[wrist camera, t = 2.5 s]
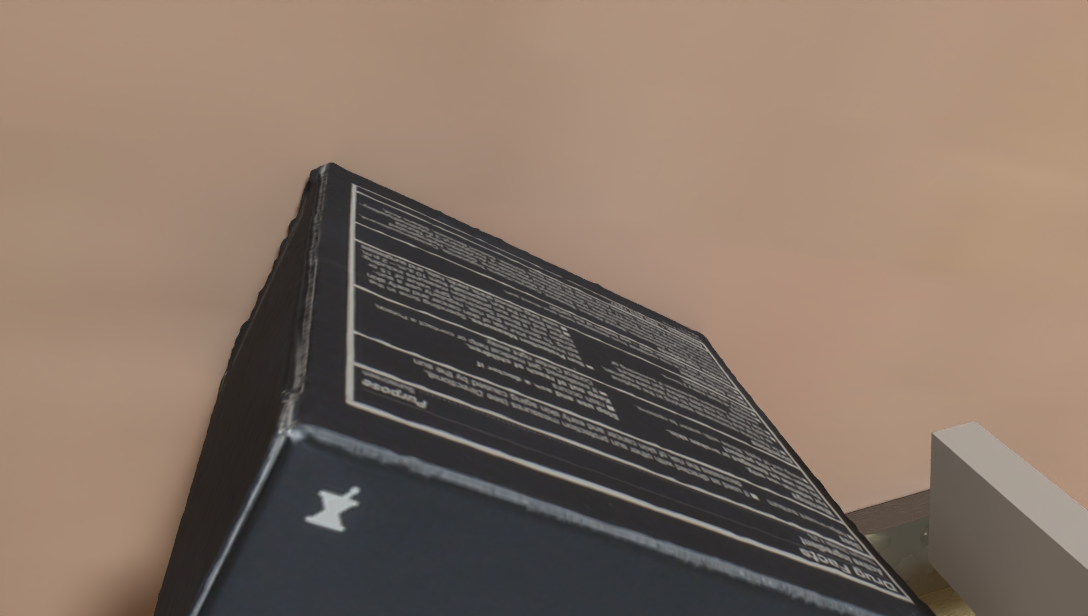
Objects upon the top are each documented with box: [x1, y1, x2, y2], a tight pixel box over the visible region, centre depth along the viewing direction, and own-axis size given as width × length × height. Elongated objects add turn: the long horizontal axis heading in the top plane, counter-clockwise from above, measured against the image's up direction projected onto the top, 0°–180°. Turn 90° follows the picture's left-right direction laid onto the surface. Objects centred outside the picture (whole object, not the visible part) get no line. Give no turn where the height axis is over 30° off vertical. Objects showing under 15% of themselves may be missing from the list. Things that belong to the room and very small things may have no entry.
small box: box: [154, 163, 937, 616], centre depth 16 cm, size 11×6×10 cm, turn 61°
